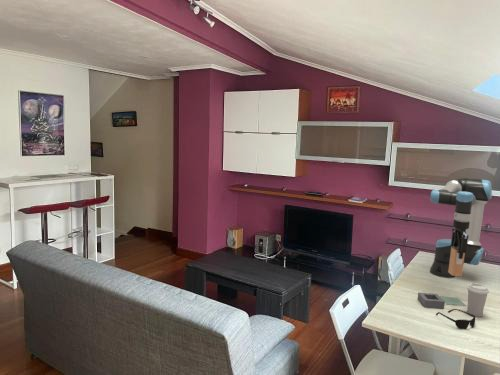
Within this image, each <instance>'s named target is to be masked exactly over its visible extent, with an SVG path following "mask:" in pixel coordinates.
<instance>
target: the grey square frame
mask: <svg viewBox="0 0 500 375" xmlns="http://www.w3.org/2000/svg"><path fill="white" fill-rule="evenodd" d="M417 301H419V303H420V304H421V306H422V307H423V308H427V309H439V310H441V309H442V310H444V309H445V305H446V303H445V301H444V300H443V299H442V298H441V297H440V295H439V294H438V293H432V292H431V293H430V292H418V293H417Z"/></svg>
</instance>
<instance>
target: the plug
mask: <svg viewBox="0 0 500 375" xmlns="http://www.w3.org/2000/svg"><path fill="white" fill-rule="evenodd" d="M457 251H458V246H452V247H451V254H450V262H449V270H448V272H449V273H450V274H451V275H452V276H455V277H463V272H464V271H463V270H464V264H465V263H464V257H465V253H463V260H462V264H456V260H457Z"/></svg>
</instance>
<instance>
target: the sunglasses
mask: <svg viewBox="0 0 500 375" xmlns="http://www.w3.org/2000/svg"><path fill="white" fill-rule="evenodd" d="M453 311H458V312H461V313H464V314H466V315H468V316H469V317H471V319H470V320H467V319H453V318H451V317H449V316H447V315H445V314H443V313H442V312H436V313H435V315H436V316H438V315H441V316H442V317H444V318H446V319H447V320H450V321H452V322H453V323H455V324H454V325H455V326H456V328H458V329H459V330H460V329H461V330H466V329H467V328H468V327H469V326H470V327H471V328H474V327H475V324H476V316H474V315H472V314H470V313H467V311H464V310H461V309H457V308H453V309H450V310H447V313H449V314H450V313H452V312H453Z"/></svg>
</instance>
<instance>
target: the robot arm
mask: <svg viewBox="0 0 500 375" xmlns="http://www.w3.org/2000/svg"><path fill="white" fill-rule="evenodd" d="M492 188H493V186H492V183H491V180H487V179H479V178H467V177H459V178H455V179H451V180H449V181H447V183H446V184H445V186H444V187H442V188H441V189H440V190H439V189H432V190H431V192H430V198H429V200H430V202H431V203H433V204H439V205H445V206H446V205H448V206H455V207H454V213H453V224H452V226H453V228H452V230H451V231H452V232H451V233H452V234H451V238H443V239H442V238H441V239H438V240H437V241H436V244H435V250H434V251H435V252H434V258H433V260H434V261H433V263H432V264H431V265H430V268H429V272H430V273H431V274H432V275H434V276H437V277H441V278H446V279H447V278H448V279H450V278H451V279H452V278H455V277H456V276H452V275H451V274H450V273H449V272H448V270H449V262H450V254H451V247H452V246H458V251H457V260H456V264H462V260H463V253H465V257H464V264H467V265H473V266H478V265H479V264H480V262H481V260H482V257H483V254H484V250H485V249H484V248H483V247H482V243H481V242H480V237H481V231H482V230H481V229H482V225H483V217H484V210H485V205H486V204H487V203H489V200H492V196H493V191H492V190H493V189H492Z"/></svg>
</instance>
